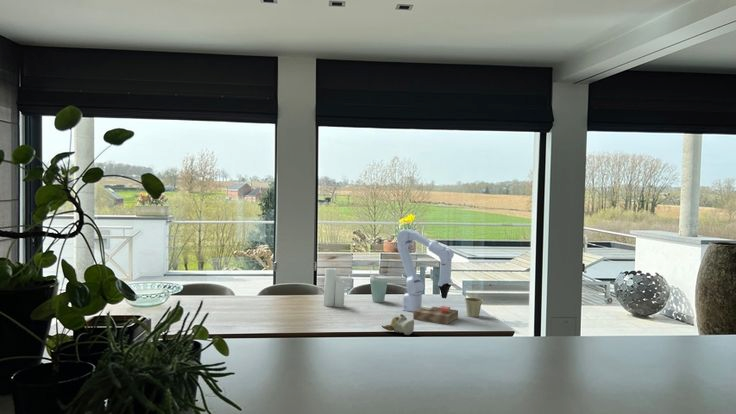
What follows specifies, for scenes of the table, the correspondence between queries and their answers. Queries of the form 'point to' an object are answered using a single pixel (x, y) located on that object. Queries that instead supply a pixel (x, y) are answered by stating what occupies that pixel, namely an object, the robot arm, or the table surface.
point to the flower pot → (473, 306)
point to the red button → (444, 309)
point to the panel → (435, 315)
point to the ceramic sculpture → (401, 325)
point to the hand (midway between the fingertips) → (444, 298)
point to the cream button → (427, 307)
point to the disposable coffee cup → (378, 287)
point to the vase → (333, 288)
